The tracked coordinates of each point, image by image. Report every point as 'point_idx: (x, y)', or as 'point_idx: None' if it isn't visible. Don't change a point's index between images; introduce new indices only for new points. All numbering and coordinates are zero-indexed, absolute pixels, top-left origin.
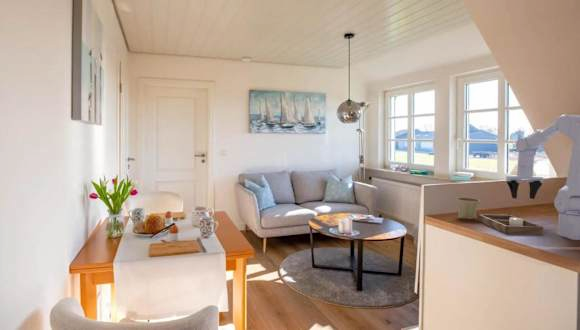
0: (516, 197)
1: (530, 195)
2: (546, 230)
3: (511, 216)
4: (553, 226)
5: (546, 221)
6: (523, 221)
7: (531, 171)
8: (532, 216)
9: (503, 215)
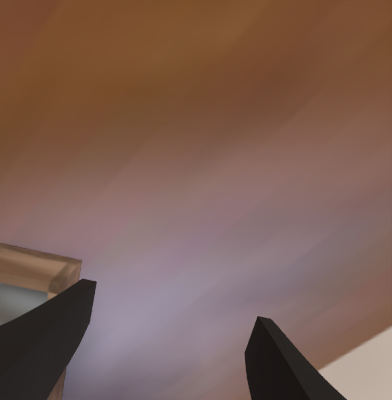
0: (83, 332)
1: (263, 341)
2: (151, 382)
3: None
4: None
5: (325, 252)
6: None
7: None
8: (379, 130)
9: (11, 283)
